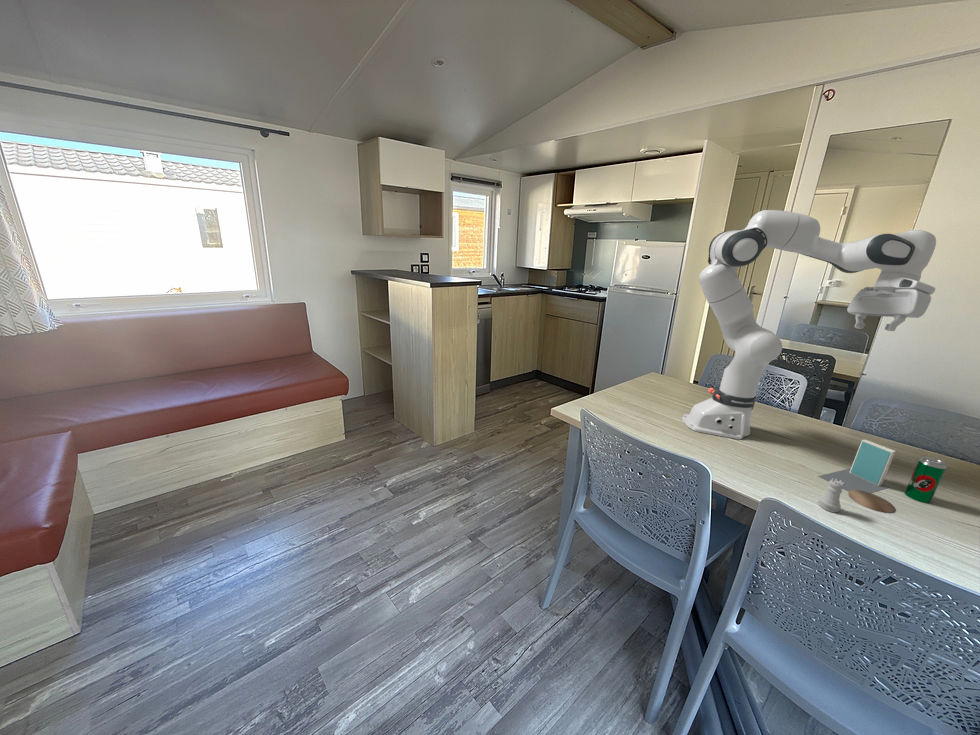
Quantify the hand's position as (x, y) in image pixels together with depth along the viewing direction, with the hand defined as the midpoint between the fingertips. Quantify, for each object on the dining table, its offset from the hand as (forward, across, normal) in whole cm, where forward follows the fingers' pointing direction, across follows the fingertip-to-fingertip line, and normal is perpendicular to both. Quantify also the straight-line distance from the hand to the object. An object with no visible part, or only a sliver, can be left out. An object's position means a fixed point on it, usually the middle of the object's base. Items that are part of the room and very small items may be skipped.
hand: (873, 329), depth 118 cm
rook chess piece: (+52, +27, -16) cm, 61 cm away
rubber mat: (+46, +15, 0) cm, 48 cm away
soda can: (+44, +22, +12) cm, 50 cm away
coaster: (+48, +24, -3) cm, 54 cm away
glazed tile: (+44, +14, +5) cm, 46 cm away
